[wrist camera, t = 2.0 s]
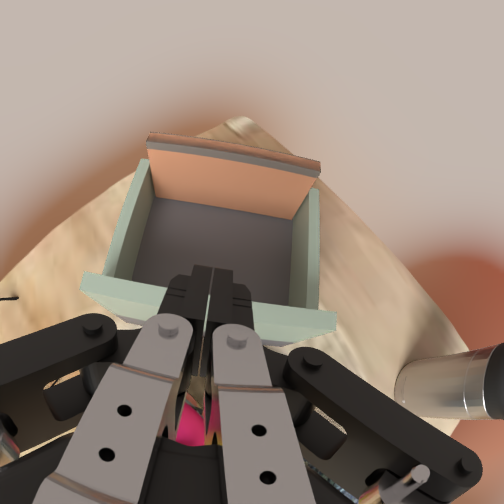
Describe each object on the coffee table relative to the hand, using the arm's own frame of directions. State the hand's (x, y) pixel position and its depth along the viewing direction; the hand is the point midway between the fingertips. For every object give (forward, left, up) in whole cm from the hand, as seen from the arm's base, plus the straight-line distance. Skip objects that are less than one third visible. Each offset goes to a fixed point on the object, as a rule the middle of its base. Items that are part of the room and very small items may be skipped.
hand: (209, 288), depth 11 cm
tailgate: (0, -17, -19) cm, 25 cm away
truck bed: (0, -9, -26) cm, 27 cm away
